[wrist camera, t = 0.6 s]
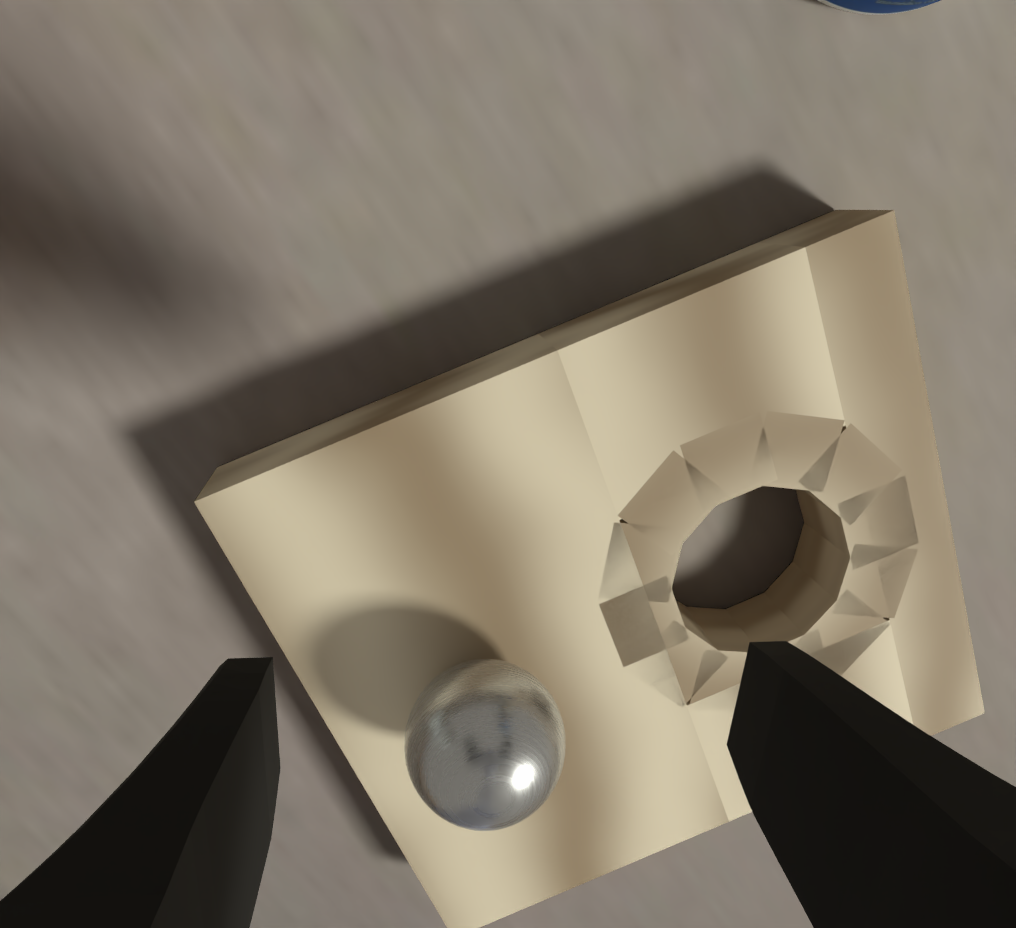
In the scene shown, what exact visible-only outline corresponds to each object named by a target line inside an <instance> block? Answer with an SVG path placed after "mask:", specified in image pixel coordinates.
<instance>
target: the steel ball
mask: <svg viewBox="0 0 1016 928" xmlns="http://www.w3.org/2000/svg"><path fill="white" fill-rule="evenodd" d="M565 751H566V743H565V730H564V725H563V720H562V717H561V714H560V711H559V709H558V706H557V704H556V702H555V701H554V699H553V697H552V695H551V694H550V693H549V691H548V690H547V689H546V687H545V686H544V685H543V684H542V683H541V682H540V681H539V680H538V679H537V678H536V677H535V676H533V675H532V674H531V673H529V672H528V671H526V670H525V669H523V668H521V667H519V666H517V665H514V664H512V663H509V662H506V661H502V660H495V659H477V660H471V661H466V662H463V663H460V664H457V665H455V666H453V667H451V668H449V669H447V670H445V671H444V672H442V673H440V674H439V675H438V676H437V677H435V678H434V679H433V680H432V681H431V682H430V683H429V684H428V685H427V686H426V687H425V689H424V690H423V691H422V692H421V694H420V695H419V697H418V699H417V700H416V702H415V704H414V706H413V708H412V710H411V713H410V715H409V718H408V722H407V726H406V731H405V741H404V752H405V761H406V766H407V770H408V773H409V776H410V779H411V781H412V784H413V786H414V788H415V790H416V791H417V793H418V795H419V796H420V798H421V799H422V800H423V801H424V803H425V804H426V805H427V806H428V807H429V808H430V809H431V810H432V811H433V812H434V813H435V814H437V815H438V816H439V817H441V818H442V819H444V820H446V821H447V822H449V823H451V824H453V825H455V826H458V827H461V828H465V829H469V830H475V831H494V830H500V829H504V828H507V827H510V826H513V825H515V824H517V823H519V822H521V821H523V820H525V819H526V818H528V817H529V816H530V815H532V814H533V813H534V812H535V811H537V810H538V809H539V808H540V807H541V806H542V805H543V804H544V802H545V801H546V800H547V799H548V797H549V796H550V794H551V793H552V791H553V790H554V788H555V786H556V784H557V782H558V780H559V777H560V774H561V771H562V768H563V764H564V758H565Z"/></svg>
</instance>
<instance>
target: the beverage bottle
mask: <svg viewBox="0 0 1016 928" xmlns="http://www.w3.org/2000/svg"><path fill="white" fill-rule="evenodd" d="M817 1H819V2H821V3H823V4H825V5H828V6H830V7H833V8H836V9H839V10H843V11H847V12H852V13H858V14H868V15H885V14H895V13H901V12H906V11H910V10H914V9H918V8H921V7H924V6H927V5H930V4H932V3H935V2H938V1H940V0H817Z"/></svg>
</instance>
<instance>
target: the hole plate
mask: <svg viewBox="0 0 1016 928" xmlns="http://www.w3.org/2000/svg"><path fill="white" fill-rule="evenodd" d="M761 486H770V487H780V488H789V489H796V493H797V497H798V500H799V504H800V508H801V512H802V516H803V520H804V525H803V529H802V532H801V535H800V539H799V542H798V546H797V549H796V552H795V556H794V559H793V562H792V563H791V564H790V565H789V566H788V567H787V568H786V570H785V571H784V572H783V573H782V574H781V575H780V576H779V577H778V578H777V579H776V580H775V582H774V583H773V584H772V585H771V586H770V587H769V588H768V589H767V590H766V591H765V592H764V593H763V594H760V595H758V596H756V597H753V598H751V599H748V600H746V601H744V602H741V603H739V604H737V605H734V606H732V607H729V608H727V609H714V608H699V607H686V606H684V605H683V604H682V603H680V602H679V601H677V600H676V599H675V597H674V594H673V591H672V585H673V581H674V576H675V572H676V568H677V564H678V560H679V556H680V552H681V548H682V544H683V542H684V541H685V540H686V539H687V538H688V537H689V536H690V534H691V533H692V532H693V531H694V530H695V529H696V528H697V526H698V525H699V524H700V523H701V522H702V521H703V520H704V519H705V517H706V516H707V515H708V514H709V513H710V512H711V511H712V509H713V508H714V507H715V506H716V505H718V504H721V503H723V502H725V501H728V500H730V499H733V498H735V497H737V496H740V495H742V494H744V493H747V492H749V491H752V490H754V489H756V488H759V487H761ZM194 503H195V504H196V506H197V508H198V509H199V511H200V513H201V515H202V516H203V518H204V520H205V521H206V523H207V525H208V526H209V528H210V530H211V531H212V533H213V535H214V536H215V538H216V540H217V541H218V543H219V545H220V546H221V548H222V550H223V551H224V553H225V555H226V557H227V558H228V560H229V562H230V563H231V565H232V567H233V568H234V570H235V572H236V573H237V575H238V577H239V578H240V580H241V582H242V583H243V585H244V587H245V588H246V590H247V592H248V593H249V595H250V597H251V599H252V600H253V602H254V604H255V605H256V607H257V609H258V610H259V612H260V614H261V615H262V617H263V619H264V620H265V622H266V624H267V625H268V627H269V629H270V630H271V632H272V634H273V635H274V637H275V639H276V641H277V642H278V644H279V646H280V647H281V649H282V651H283V652H284V654H285V656H286V657H287V659H288V661H289V662H290V664H291V666H292V667H293V669H294V671H295V672H296V674H297V676H298V677H299V679H300V681H301V683H302V684H303V686H304V688H305V689H306V691H307V693H308V694H309V696H310V698H311V699H312V701H313V703H314V704H315V706H316V708H317V709H318V711H319V713H320V714H321V716H322V718H323V719H324V721H325V723H326V725H327V726H328V728H329V730H330V731H331V733H332V735H333V736H334V738H335V740H336V741H337V743H338V745H339V746H340V748H341V750H342V751H343V753H344V755H345V756H346V758H347V760H348V761H349V763H350V765H351V767H352V768H353V770H354V772H355V773H356V775H357V777H358V778H359V780H360V782H361V783H362V785H363V787H364V788H365V790H366V792H367V793H368V795H369V797H370V798H371V800H372V802H373V803H374V805H375V807H376V809H377V810H378V812H379V814H380V815H381V817H382V819H383V820H384V822H385V824H386V825H387V827H388V829H389V830H390V832H391V834H392V835H393V837H394V839H395V840H396V842H397V844H398V845H399V847H400V849H401V850H402V852H403V854H404V856H405V857H406V859H407V861H408V862H409V864H410V866H411V867H412V869H413V871H414V872H415V874H416V876H417V877H418V879H419V881H420V882H421V884H422V886H423V887H424V889H425V891H426V892H427V894H428V896H429V898H430V899H431V901H432V903H433V904H434V906H435V908H436V909H437V911H438V913H439V914H440V916H441V918H442V919H443V921H444V923H445V924H446V926H447V928H479V927H482V926H484V925H486V924H489V923H491V922H494V921H496V920H498V919H501V918H503V917H505V916H508V915H510V914H512V913H515V912H517V911H519V910H522V909H524V908H527V907H529V906H531V905H534V904H536V903H538V902H541V901H543V900H545V899H548V898H550V897H552V896H555V895H557V894H559V893H562V892H564V891H567V890H569V889H571V888H574V887H576V886H578V885H581V884H583V883H585V882H588V881H590V880H592V879H595V878H597V877H600V876H602V875H604V874H607V873H609V872H611V871H614V870H616V869H618V868H621V867H623V866H625V865H628V864H630V863H633V862H635V861H637V860H640V859H642V858H644V857H647V856H649V855H651V854H654V853H656V852H658V851H661V850H663V849H665V848H668V847H670V846H673V845H675V844H677V843H680V842H682V841H684V840H687V839H689V838H691V837H694V836H696V835H698V834H701V833H703V832H706V831H708V830H710V829H713V828H715V827H717V826H720V825H722V824H724V823H727V822H729V821H731V820H734V819H736V818H739V817H741V816H743V815H746V814H748V813H750V812H752V810H751V808H750V806H749V803H748V801H747V798H746V796H745V793H744V790H743V788H742V785H741V783H740V780H739V778H738V775H737V772H736V769H735V767H734V764H733V761H732V758H731V755H730V753H729V750H728V747H727V740H728V736H729V731H730V727H731V723H732V718H733V714H734V709H735V705H736V700H737V696H738V691H739V687H740V682H741V678H742V673H743V669H744V665H745V660H746V656H747V651H748V647H749V642H769V641H787V642H789V643H791V644H792V645H794V646H796V647H797V648H799V649H801V650H802V651H804V652H805V653H807V654H809V655H810V656H812V657H813V658H815V659H816V660H818V661H819V662H821V663H822V664H824V665H825V666H827V667H828V668H830V669H831V670H833V671H834V672H836V673H837V674H839V675H840V676H842V677H843V678H845V679H846V680H848V681H849V682H850V683H852V684H853V685H855V686H856V687H858V688H859V689H861V690H862V691H864V692H865V693H867V694H868V695H870V696H871V697H873V698H874V699H875V700H877V701H878V702H880V703H881V704H883V705H884V706H886V707H887V708H889V709H890V710H892V711H893V712H895V713H896V714H898V715H899V716H901V717H902V718H904V719H905V720H907V721H908V722H910V723H911V724H913V725H915V726H916V727H918V728H919V729H921V730H922V731H924V732H925V733H927V734H928V735H930V736H932V735H934V734H936V733H939V732H941V731H943V730H946V729H948V728H951V727H953V726H955V725H958V724H960V723H962V722H965V721H967V720H969V719H972V718H974V717H976V716H979V715H981V714H983V713H985V712H984V707H983V701H982V696H981V690H980V685H979V679H978V674H977V668H976V662H975V657H974V651H973V646H972V640H971V635H970V629H969V624H968V618H967V612H966V607H965V601H964V596H963V590H962V585H961V579H960V574H959V568H958V563H957V557H956V551H955V546H954V540H953V535H952V529H951V524H950V518H949V513H948V507H947V501H946V496H945V490H944V485H943V479H942V474H941V468H940V463H939V457H938V451H937V446H936V440H935V435H934V429H933V424H932V418H931V413H930V407H929V401H928V396H927V390H926V385H925V379H924V374H923V368H922V363H921V357H920V352H919V346H918V340H917V335H916V329H915V324H914V318H913V313H912V307H911V302H910V296H909V290H908V285H907V279H906V274H905V268H904V263H903V257H902V252H901V246H900V240H899V235H898V229H897V224H896V218H895V213H894V210H835V211H832V212H830V213H827V214H825V215H822V216H820V217H818V218H815V219H813V220H810V221H808V222H806V223H803V224H801V225H798V226H796V227H794V228H791V229H789V230H786V231H784V232H782V233H779V234H777V235H774V236H772V237H770V238H767V239H765V240H762V241H760V242H758V243H755V244H753V245H750V246H748V247H746V248H743V249H741V250H738V251H736V252H734V253H731V254H729V255H726V256H724V257H722V258H719V259H717V260H714V261H712V262H710V263H707V264H705V265H702V266H700V267H698V268H695V269H693V270H690V271H688V272H686V273H683V274H681V275H678V276H676V277H674V278H671V279H669V280H666V281H664V282H661V283H659V284H657V285H654V286H652V287H649V288H647V289H645V290H642V291H640V292H637V293H635V294H633V295H630V296H628V297H625V298H623V299H621V300H618V301H616V302H613V303H611V304H609V305H606V306H604V307H601V308H599V309H597V310H594V311H592V312H589V313H587V314H585V315H582V316H580V317H577V318H575V319H573V320H570V321H568V322H565V323H563V324H561V325H558V326H556V327H553V328H551V329H549V330H546V331H544V332H541V333H539V334H537V335H534V336H532V337H529V338H527V339H525V340H522V341H520V342H517V343H515V344H513V345H510V346H508V347H505V348H503V349H500V350H498V351H496V352H493V353H491V354H488V355H486V356H484V357H481V358H479V359H476V360H474V361H472V362H469V363H467V364H464V365H462V366H460V367H457V368H455V369H452V370H450V371H448V372H445V373H443V374H440V375H438V376H436V377H433V378H431V379H428V380H426V381H424V382H421V383H419V384H416V385H414V386H412V387H409V388H407V389H404V390H402V391H400V392H397V393H395V394H392V395H390V396H388V397H385V398H383V399H380V400H378V401H376V402H373V403H371V404H368V405H366V406H364V407H361V408H359V409H356V410H354V411H352V412H349V413H347V414H344V415H342V416H339V417H337V418H335V419H332V420H330V421H327V422H325V423H323V424H320V425H318V426H315V427H313V428H311V429H308V430H306V431H303V432H301V433H299V434H296V435H294V436H291V437H289V438H287V439H284V440H282V441H279V442H277V443H275V444H272V445H270V446H267V447H265V448H263V449H260V450H258V451H255V452H253V453H251V454H248V455H246V456H243V457H241V458H239V459H236V460H234V461H231V462H229V463H227V464H224V465H222V466H219V467H217V468H216V470H215V471H214V473H213V474H212V476H211V477H210V479H209V480H208V482H207V483H206V485H205V486H204V488H203V489H202V491H201V492H200V494H199V495H198V497H197V498H196V500H195V501H194ZM477 659H495V660H502V661H506V662H509V663H512V664H514V665H517V666H519V667H521V668H523V669H525V670H526V671H528V672H529V673H531V674H532V675H533V676H535V677H536V678H537V679H538V680H539V681H540V682H541V683H542V684H543V685H544V686H545V687H546V689H547V690H548V691H549V693H550V694H551V695H552V697H553V699H554V701H555V702H556V704H557V706H558V709H559V711H560V714H561V717H562V720H563V725H564V730H565V743H566V751H565V758H564V764H563V768H562V771H561V774H560V777H559V780H558V782H557V784H556V786H555V788H554V790H553V791H552V793H551V794H550V796H549V797H548V799H547V800H546V801H545V802H544V804H543V805H542V806H541V807H540V808H539V809H538V810H537V811H535V812H534V813H533V814H532V815H530V816H529V817H528V818H526V819H525V820H523V821H521V822H519V823H517V824H515V825H513V826H510V827H507V828H504V829H500V830H494V831H475V830H469V829H465V828H461V827H458V826H455V825H453V824H451V823H449V822H447V821H446V820H444V819H442V818H441V817H439V816H438V815H437V814H435V813H434V812H433V811H432V810H431V809H430V808H429V807H428V806H427V805H426V804H425V803H424V801H423V800H422V799H421V798H420V796H419V795H418V793H417V791H416V790H415V788H414V786H413V784H412V781H411V779H410V776H409V773H408V770H407V766H406V761H405V752H404V741H405V731H406V726H407V722H408V718H409V715H410V713H411V710H412V708H413V706H414V704H415V702H416V700H417V699H418V697H419V695H420V694H421V692H422V691H423V690H424V689H425V687H426V686H427V685H428V684H429V683H430V682H431V681H432V680H433V679H434V678H435V677H437V676H438V675H439V674H440V673H442V672H444V671H445V670H447V669H449V668H451V667H453V666H455V665H457V664H460V663H463V662H466V661H471V660H477Z"/></svg>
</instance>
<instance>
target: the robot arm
mask: <svg viewBox="0 0 1016 928" xmlns="http://www.w3.org/2000/svg"><path fill="white" fill-rule="evenodd" d="M727 747H728V750H729V753H730V755H731V758H732V761H733V764H734V767H735V769H736V772H737V775H738V778H739V780H740V783H741V785H742V788H743V790H744V793H745V796H746V798H747V801H748V803H749V806H750V808H751V810H752V812H753V814H754V816H755V818H756V820H757V822H758V824H759V825H760V827H761V829H762V831H763V833H764V835H765V837H766V839H767V841H768V843H769V845H770V846H771V848H772V850H773V852H774V854H775V856H776V858H777V860H778V862H779V864H780V865H781V867H782V869H783V871H784V873H785V875H786V877H787V878H788V880H789V882H790V884H791V886H792V888H793V890H794V892H795V893H796V895H797V897H798V899H799V901H800V903H801V905H802V906H803V908H804V910H805V912H806V914H807V916H808V918H809V920H810V921H811V923H812V925H813V927H814V928H1016V787H1014V786H1013V785H1011V784H1009V783H1007V782H1006V781H1004V780H1002V779H1000V778H999V777H997V776H995V775H993V774H992V773H990V772H988V771H987V770H985V769H983V768H982V767H980V766H979V765H977V764H975V763H974V762H972V761H970V760H969V759H967V758H965V757H964V756H962V755H960V754H959V753H957V752H955V751H954V750H952V749H951V748H949V747H947V746H946V745H944V744H943V743H941V742H939V741H938V740H936V739H935V738H933V737H932V736H930V735H928V734H927V733H925V732H924V731H922V730H921V729H919V728H918V727H916V726H915V725H913V724H911V723H910V722H908V721H907V720H905V719H904V718H902V717H901V716H899V715H898V714H896V713H895V712H893V711H892V710H890V709H889V708H887V707H886V706H884V705H883V704H881V703H880V702H878V701H877V700H875V699H874V698H873V697H871V696H870V695H868V694H867V693H865V692H864V691H862V690H861V689H859V688H858V687H856V686H855V685H853V684H852V683H850V682H849V681H848V680H846V679H845V678H843V677H842V676H840V675H839V674H837V673H836V672H834V671H833V670H831V669H830V668H828V667H827V666H825V665H824V664H822V663H821V662H819V661H818V660H816V659H815V658H813V657H812V656H810V655H809V654H807V653H805V652H804V651H802V650H801V649H799V648H797V647H796V646H794V645H792V644H791V643H789V642H787V641H769V642H749V647H748V651H747V656H746V660H745V665H744V669H743V673H742V678H741V682H740V687H739V691H738V696H737V700H736V705H735V709H734V714H733V718H732V723H731V727H730V731H729V736H728V740H727ZM279 774H280V757H279V743H278V729H277V714H276V700H275V686H274V672H273V657H265V658H234V659H227V660H226V661H225V662H224V663H223V664H222V665H220V667H219V668H218V669H217V671H216V672H215V673H214V674H213V676H212V677H211V678H210V680H209V681H208V682H207V684H206V685H205V686H204V687H203V689H202V690H201V691H200V693H199V694H198V695H197V696H196V698H195V699H194V700H193V701H192V703H191V704H190V705H189V706H188V708H187V709H186V710H185V711H184V713H183V714H182V715H181V716H180V718H179V719H178V720H177V721H176V722H175V724H174V725H173V726H172V727H171V728H170V730H169V731H168V732H167V733H166V734H165V735H164V737H163V738H162V739H161V740H160V741H159V742H158V743H157V745H156V746H155V747H154V748H153V749H152V750H151V752H150V753H149V754H148V755H147V756H146V757H145V759H144V760H143V761H142V762H141V763H140V764H139V765H138V767H137V768H136V769H135V770H134V771H133V772H132V773H131V774H130V775H129V777H128V778H127V779H126V780H125V781H124V782H123V783H122V784H121V785H120V786H119V787H118V788H117V789H116V790H115V791H114V792H113V793H112V794H111V795H110V796H109V798H108V799H107V800H106V801H105V802H104V803H103V804H102V805H101V806H100V807H99V808H98V809H97V810H96V811H95V812H94V813H93V814H92V815H91V816H90V817H89V818H88V819H87V821H86V822H85V823H84V824H83V825H82V826H81V827H80V828H79V829H78V830H77V831H76V832H75V833H74V834H72V835H71V836H70V837H69V838H68V839H67V840H66V841H65V842H64V843H63V844H62V845H61V846H60V847H59V848H58V849H57V850H56V851H55V852H54V853H53V854H52V855H51V856H50V857H49V858H47V859H46V860H45V861H44V862H43V863H42V864H41V865H40V866H39V867H38V868H37V869H35V870H34V871H33V872H32V873H31V874H30V875H29V876H28V877H27V878H26V879H24V880H23V881H22V882H21V883H20V884H19V885H18V886H17V887H16V888H15V889H13V890H12V891H11V892H10V893H9V894H8V895H7V896H5V897H4V898H3V899H2V900H1V901H0V928H249V927H250V923H251V919H252V915H253V911H254V907H255V903H256V899H257V895H258V891H259V886H260V882H261V878H262V874H263V870H264V866H265V862H266V858H267V853H268V849H269V845H270V841H271V835H272V828H273V821H274V813H275V806H276V798H277V790H278V782H279Z"/></svg>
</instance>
